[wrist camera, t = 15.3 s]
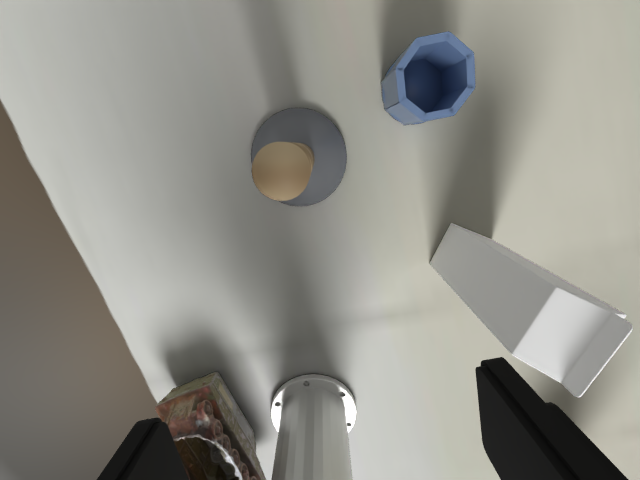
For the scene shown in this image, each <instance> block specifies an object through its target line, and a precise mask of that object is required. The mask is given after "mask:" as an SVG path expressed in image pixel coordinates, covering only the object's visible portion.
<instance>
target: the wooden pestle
mask: <svg viewBox="0 0 640 480" xmlns="http://www.w3.org/2000/svg"><path fill="white" fill-rule="evenodd" d="M314 161H315V157H314V153H313V151H312V149H311V148H310V147H309V146H307V145H306V144H303V143H294V142H273V143H270V144H268V145H266V146H264V147H263V148H262V149H261V150H260V151H259V152H258V153H257V154H256V156H255V158H254V161H253V164H252V176H253V180H254V183H255V185H256V186H257V188H258V189H259V190H260V192H261V193H263V194H264V195H265V196H267V197H268V198H271V199H273V200H278V201H286V200H290V199H293V198H295V197H297V196H298V195H300V194H301V193H302V192H303V191H304V189H305V188H306V186H307V184H308V181H309V178H310V175H311V172H312V169H313V165H314Z"/></svg>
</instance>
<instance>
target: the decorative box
mask: <svg viewBox="0 0 640 480" xmlns="http://www.w3.org/2000/svg"><path fill="white" fill-rule="evenodd" d="M155 410H156V412H157V413H158V416H159V418H160V419H161V420H162V422H166V423H167V425H168V427H169V430H170V433H171V435H172V438H173V440H174V443H175V445H176V448H177V451H178V453H179V456H180V458H181V461H182V463H183V466H184V469H185V471H186V474H187V476H188V479H189V480H266V478H265V476H264V473H263V471H262V468H261V466H260V462H259V460H258V458H257V456H256V442H255V437H254V431H253V430H252V428H251V426H250V425H249V423H248V421H247V420H246V418H245V416H244V415H243V413H242V411H241V410H240V408H239V406H238V405H237V403H236V401H235V400H234V398H233V396H232V395H231V393H230V391H229V390H228V388H227V386H226V384H225V383H224V381H223V379H222V378H221V376H220V375H219V372H214V373H212V374H209V375H207V376H204V377H202V378H198V379H195V380H193V381H192V382H189V383H187V384H184V385H182V386H178V387H177V388H173V389H172V390H171V392H170V393H169V394H168V395H167V396H166V397H165V398H163V399H162V400H161V401H160V402H159V403H158V404H157V405H156V406H155Z"/></svg>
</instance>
